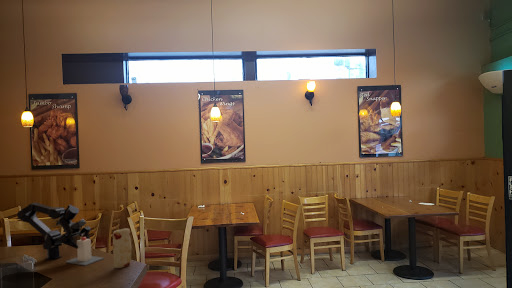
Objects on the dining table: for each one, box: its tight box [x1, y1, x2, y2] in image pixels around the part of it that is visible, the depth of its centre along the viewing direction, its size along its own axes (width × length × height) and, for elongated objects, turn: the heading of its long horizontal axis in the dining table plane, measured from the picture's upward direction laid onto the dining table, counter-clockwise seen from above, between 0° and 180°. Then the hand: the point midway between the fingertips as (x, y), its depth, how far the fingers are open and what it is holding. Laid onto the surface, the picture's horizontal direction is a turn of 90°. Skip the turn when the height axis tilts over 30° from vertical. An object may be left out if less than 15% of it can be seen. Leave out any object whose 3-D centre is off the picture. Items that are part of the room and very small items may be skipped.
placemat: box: [65, 255, 105, 267], centre depth 208 cm, size 16×12×1 cm
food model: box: [112, 228, 132, 269], centre depth 195 cm, size 10×7×20 cm
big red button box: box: [76, 236, 93, 261], centre depth 208 cm, size 5×5×12 cm
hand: (84, 245), depth 208 cm, fingers open, 9 cm apart
